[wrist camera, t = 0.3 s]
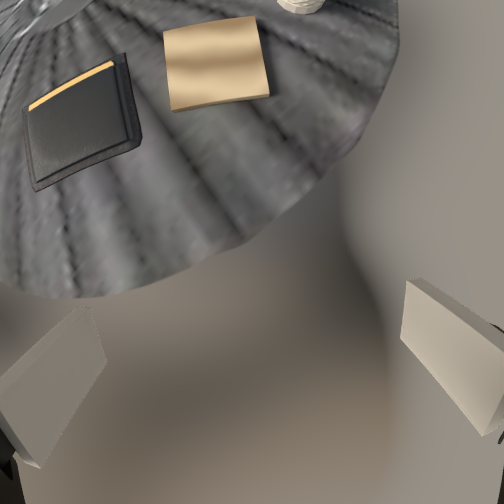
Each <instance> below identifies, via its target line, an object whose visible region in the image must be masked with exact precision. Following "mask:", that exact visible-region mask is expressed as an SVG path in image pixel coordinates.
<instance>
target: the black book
mask: <svg viewBox="0 0 504 504" xmlns="http://www.w3.org/2000/svg"><path fill="white" fill-rule="evenodd" d="M22 114H23V132H24V141H25V149H26V156H27V163H28V169H29V175H30V180H31V184H32V188H33V189H34V191H35V193H36V192H38V191H40V190H42V189H45V188H47V187H49V186H51V185H53V184H54V183H56V182H58V181H60V180H62V179H64V178H66V177H68V176H70V175H72V174H74V173H76V172H78V171H81V170H83V169H85V168H87V167H90V166H92V165H94V164H97V163H99V162H102V161H104V160H107V159H109V158H112V157H114V156H117V155H120V154H123V153H126V152H129V151H131V150H133V149H135V148H137V147H139V146H140V143H141V140H142V133H141V127H140V122H139V118H138V114H137V110H136V106H135V101H134V97H133V92H132V87H131V81H130V75H129V70H128V65H127V60H126V54H125V53H123V54H120V55H118V56H115V57H113V58H110V59H108V60H106V61H104V62H102V63H100V64H99V65H97V66H95V67H93V68H91V69H89V70H87V71H85V72H83V73H81V74H79V75H77V76H75V77H73V78H71V79H70V80H68V81H66V82H64V83H63V84H61V85H59V86H57V87H56V88H54V89H52V90H51V91H49V92H47V93H46V94H44V95H43V96H41V97H40V98H38V99H36V100H35V101H33V102H32V103H30V104H29V105H27V106H26V107H24V108H23V109H22Z"/></svg>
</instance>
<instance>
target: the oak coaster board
mask: <svg viewBox="0 0 504 504" xmlns="http://www.w3.org/2000/svg"><path fill="white" fill-rule="evenodd" d="M163 33H164V45H165V56H166V67H167V76H168V86H169V94H170V103H171V110H172V111H173V112H174V113H176V112H180V111H185V110H190V109H195V108H200V107H205V106H210V105H216V104H222V103H228V102H234V101H241V100H248V99H256V98H264V97H269V94H270V93H269V88H268V82H267V77H266V71H265V66H264V61H263V55H262V50H261V45H260V40H259V35H258V30H257V26H256V21H255V16H249V17H240V18H232V19H225V20H218V21H212V22H206V23H201V24H196V25H191V26H186V27H181V28H177V29H173V30H169V31H165V32H163Z"/></svg>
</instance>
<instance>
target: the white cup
mask: <svg viewBox="0 0 504 504" xmlns="http://www.w3.org/2000/svg"><path fill="white" fill-rule="evenodd" d="M324 1H325V0H277V2H278V3H279V4H280V5H281V6H282V7H283V8H284V9H286V10H288V11H290V12H292V13H296V14H304V15H305V14H310V13H314V12H316V11H317V10H318V9H319V8H321V6H322V5H323V3H324Z"/></svg>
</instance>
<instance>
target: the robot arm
mask: <svg viewBox="0 0 504 504" xmlns="http://www.w3.org/2000/svg"><path fill="white" fill-rule="evenodd" d="M400 338H401V340H402V341H403V342H404V343H405V344H406V345H407V347H408V348H409V349H410V350H411V351H412V352H413V353H414V354H415V356H416V357H417V358H418V359H419V360H420V361H421V363H422V364H423V365H424V366H425V367H426V368H427V369H428V370H429V372H430V373H431V374H432V375H433V376H434V378H435V379H436V380H437V381H438V382H439V384H440V385H441V386H442V387H443V388H444V390H445V391H446V392H447V393H448V394H449V396H450V397H451V398H452V399H453V401H454V402H455V403H456V404H457V405H458V407H459V408H460V409H461V410H462V411H463V413H464V414H465V415H466V417H467V418H468V419H469V420H470V422H471V423H472V424H473V426H474V427H475V428H476V429H477V431H478V432H479V433H480V435H481V436H484V435H486V434H488V433H490V432H491V431H493V430H495V429H497V428H498V427H499V426H500V424H501V422H502V419H503V418H504V331H503V330H502V329H500V328H499V327H497V326H496V325H493V324H491V323H488V322H487V321H485V320H484V319H482V318H481V317H480V316H478V315H477V314H475V313H474V312H472V311H471V310H470V309H468V308H467V307H465V306H464V305H462V304H461V303H459V302H458V301H456V300H455V299H453V298H451V297H450V296H449V295H447V294H446V293H444V292H443V291H441V290H439V289H438V288H436V287H435V286H433V285H432V284H430V283H429V282H427V281H425V280H424V279H422V278H418V279H411V280H407V282H406V294H405V304H404V313H403V322H402V328H401V335H400ZM106 364H107V360H106V357H105V354H104V351H103V348H102V345H101V342H100V339H99V336H98V332H97V329H96V325H95V322H94V319H93V315H92V311H91V308H90V307H81V308H79V307H77V308H75V309H74V310H73V311H72V312H70V313H69V314H68V315H67V316H66V317H65V318H64V319H62V320H61V321H60V322H59V323H58V324H57V325H56V326H55V327H53V328H52V329H51V330H50V331H49V332H48V333H47V334H46V335H45V336H43V338H41V339H40V340H39V341H38V342H37V343H36V344H35V345H34V346H33V347H32V348H31V349H29V350H28V351H27V352H26V353H25V354H24V355H23V356H22V357H21V358H20V359H19V360H18V361H17V362H16V363H15V364H14V365H13V366H12V367H11V368H10V369H9V370H7V371H6V372H5V374H3V375H2V376H1V377H0V504H26V503H25V499H24V495H23V491H22V487H21V482H20V477H19V472H18V466H17V463H16V460H15V459H14V458H13V456H12V455H13V454H14V452H15V451H16V452H17V453H18V454H19V455H20V457H21V458H22V459H23V461H24V462H25V463H27V464H30V465H32V466H35V467H37V468H42V467H43V465H44V463H45V461H46V460H47V457H48V456H49V454H50V453H51V451H52V449H53V448H54V446H55V444H56V442H57V441H58V439H59V437H60V436H61V434H62V433H63V431H64V429H65V428H66V426H67V424H68V423H69V421H70V420H71V418H72V416H73V415H74V413H75V412H76V410H77V408H78V407H79V405H80V403H81V402H82V400H83V399H84V397H85V396H86V394H87V393H88V391H89V390H90V388H91V386H92V385H93V383H94V382H95V380H96V379H97V377H98V376H99V374H100V373H101V371H102V370H103V368H104V367H105V365H106ZM503 439H504V432H503V433H502V435H501V437H500V438H499V441H498V444H501V442H502V440H503ZM497 504H504V469H503V475H502V482H501V488H500V493H499V498H498V503H497Z"/></svg>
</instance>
